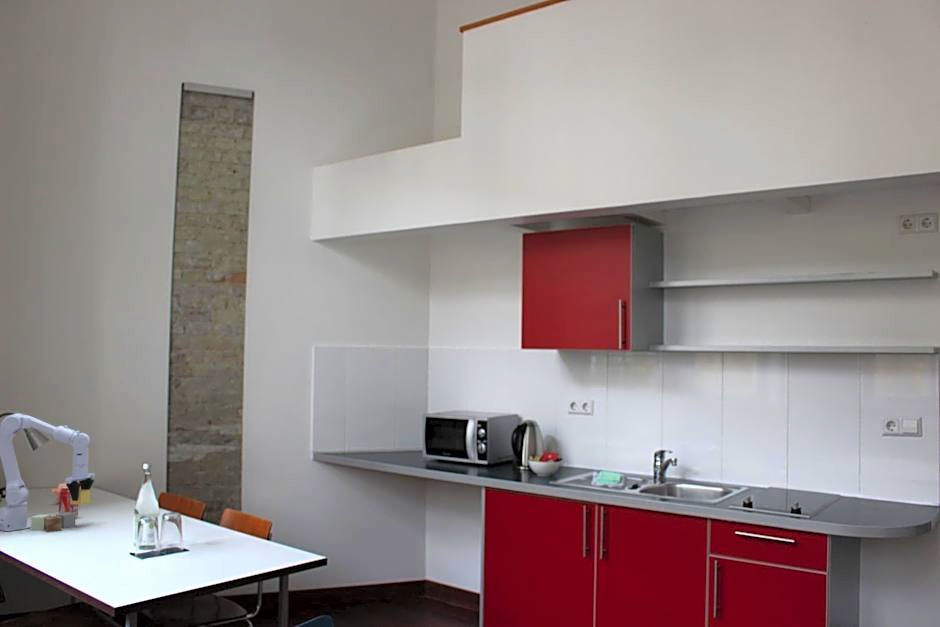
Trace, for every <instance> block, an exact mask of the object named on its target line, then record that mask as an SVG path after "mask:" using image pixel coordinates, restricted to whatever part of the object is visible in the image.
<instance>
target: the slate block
mask: <svg viewBox="0 0 940 627" xmlns="http://www.w3.org/2000/svg"><path fill="white" fill-rule="evenodd" d="M55 516H60V517H61V518H62V524H61V529H69V528H72V527H76V518H75V516H76V514H75V513H69V512H66V513H61V514H59V513H56V514H55Z"/></svg>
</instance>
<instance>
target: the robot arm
mask: <svg viewBox="0 0 940 627" xmlns="http://www.w3.org/2000/svg"><path fill="white" fill-rule="evenodd" d="M24 429H34V430H37V431H41V432H44V433H46V434H49V435H51V436H52V437H53V439H54V440H55V441H58V442H61V443H63V444H66V445H69V446H72V448H73V449H72V475H71V476H69V477H66V478H65V479H64V480H65V481H64V483H66V486H67V487H68V489H69V491H70V494H71V498H72V501H78V496H79V489H80V486H81V489H85V490H90V491H91V488H92V486H93V484H94V482H95V480H94V479H95V478H96V477H95V476H96V473H94V472H89V462H90V461H89V459H90V458H89V455H90V454H89V449H90V448H89V445H90V443H91V438H90V436H89V434H87V433H85V432H81V431H80V430H74V429H72V428H69V426H68V425H59V426H55V425H53V424H50V423H47V422H45V421H44V420H41V419H38V418H36V417H33V416H31V415H28V414H24V413H22V412H21V413H20V412H16V413H14V414H10V415H9V414H8V415H7V416H6V417H5V418H4V419H2V421H1V422H0V460H1V464H2V469H3V473H4V476H5V481H6V484H5V485H6V486H5V491H6V492H5V493H6V494H5V502H6V505H5V506H3V507H0V530H1V531H3V532H13V531H19V530H26V529H31V525H28V501H27V500H28V498H29V497H30V491H29V489H28V488H27V487H26V484H25V482H24V480H23V479H22V476H21V473H20V469H19V463H18V461H17V456H16V452H15V448H14V443H13V438H14V437H15V436H16V435H17V433H18V432H19V431H20V430H24Z"/></svg>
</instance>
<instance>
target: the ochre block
mask: <svg viewBox="0 0 940 627" xmlns="http://www.w3.org/2000/svg"><path fill="white" fill-rule="evenodd" d="M90 502H91V489H90V490H85V489H79V496H78V501H72V498H71V494H70V504H77V505H78V506H80V505H85V504H89V503H90Z"/></svg>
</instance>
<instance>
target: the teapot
mask: <svg viewBox="0 0 940 627" xmlns="http://www.w3.org/2000/svg"><path fill="white" fill-rule="evenodd" d="M62 486H66V483H65V482H63V483H59V484H58V486H57V488H56V487H54V488H52V491H51V492H52V493H54V494H55V495H56V501H58V502H59V491H60V489H61V487H62ZM80 489H81V486H80Z"/></svg>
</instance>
